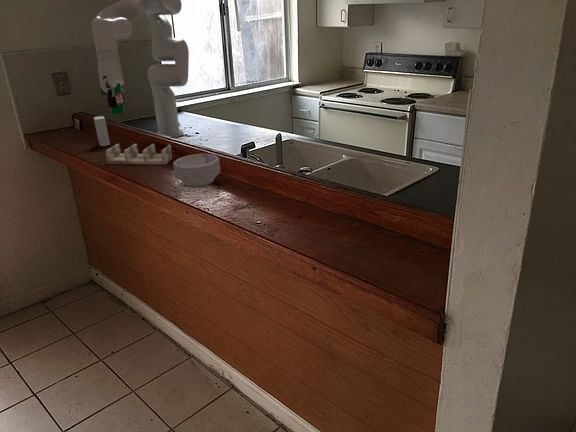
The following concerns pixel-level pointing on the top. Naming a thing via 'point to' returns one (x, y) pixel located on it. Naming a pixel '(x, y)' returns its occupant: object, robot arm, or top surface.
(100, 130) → the skincare box
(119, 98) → the soda can
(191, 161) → the paper bowls
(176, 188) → the top surface
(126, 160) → the can rack
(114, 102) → the robot arm
